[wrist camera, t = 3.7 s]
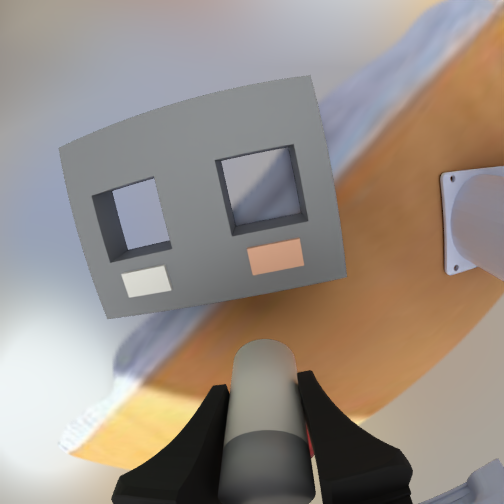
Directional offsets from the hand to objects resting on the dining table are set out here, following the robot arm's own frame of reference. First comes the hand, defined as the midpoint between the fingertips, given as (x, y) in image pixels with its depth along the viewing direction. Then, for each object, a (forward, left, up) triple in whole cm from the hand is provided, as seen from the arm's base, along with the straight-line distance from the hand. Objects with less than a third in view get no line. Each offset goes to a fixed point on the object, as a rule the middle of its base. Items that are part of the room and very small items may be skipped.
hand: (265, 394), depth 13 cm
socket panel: (+2, -8, -9) cm, 13 cm away
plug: (0, 0, -2) cm, 2 cm away
